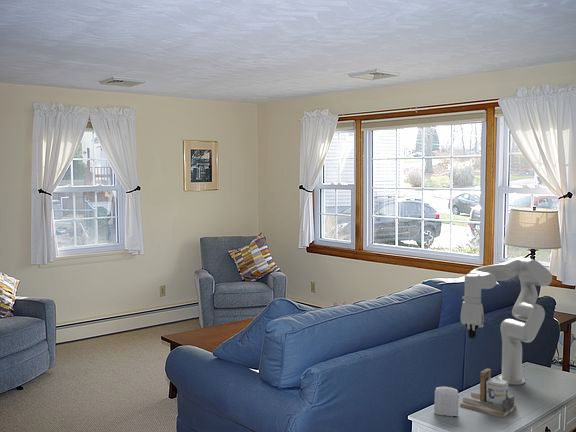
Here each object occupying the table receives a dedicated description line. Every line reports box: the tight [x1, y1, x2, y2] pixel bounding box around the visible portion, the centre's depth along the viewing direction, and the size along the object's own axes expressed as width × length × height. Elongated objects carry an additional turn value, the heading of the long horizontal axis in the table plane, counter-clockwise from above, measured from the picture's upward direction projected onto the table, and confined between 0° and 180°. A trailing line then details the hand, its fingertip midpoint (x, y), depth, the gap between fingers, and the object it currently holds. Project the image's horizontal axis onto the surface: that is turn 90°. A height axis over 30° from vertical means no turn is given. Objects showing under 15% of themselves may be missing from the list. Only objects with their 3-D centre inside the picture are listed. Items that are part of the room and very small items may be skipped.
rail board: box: [459, 391, 517, 419], centre depth 276 cm, size 14×20×6 cm
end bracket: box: [479, 368, 492, 402], centre depth 277 cm, size 6×2×15 cm, turn 137°
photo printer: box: [433, 386, 460, 417], centre depth 268 cm, size 10×4×12 cm, turn 72°
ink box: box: [486, 377, 509, 407], centre depth 273 cm, size 9×5×12 cm, turn 56°
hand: (472, 337), depth 292 cm, fingers closed
